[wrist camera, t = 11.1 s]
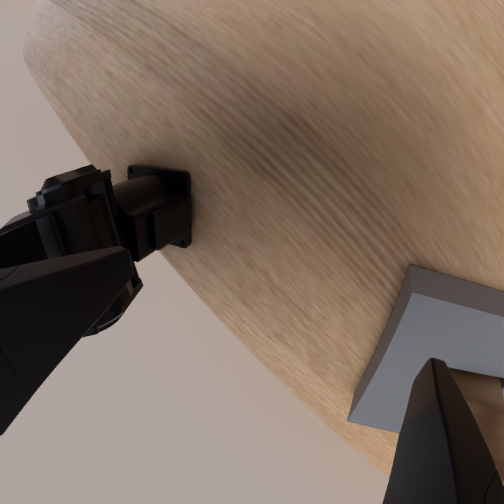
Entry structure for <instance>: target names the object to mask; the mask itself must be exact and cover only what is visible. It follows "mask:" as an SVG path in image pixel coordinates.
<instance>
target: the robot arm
mask: <svg viewBox="0 0 504 504" xmlns="http://www.w3.org/2000/svg"><path fill="white" fill-rule="evenodd" d="M132 169H133V170H132ZM127 172H128V180H127V181H124V182H121V183H119V184H116V185H113V186H112V182H111V178H110V177H112V176H111V172H110V170H106V171H103V172H101V169H100V170H97V169H96V168H95V167H94V166H93V165H92V164H91V165H89V166H85V167H82V168H79V169H76V170H72V171H69V172H66V173H63V174H60V175H56V176H53V177H51V178H48V179H46V180H45V182H44V184H43V186H42V189H41V190H40V191H38V192H36V196H35V197H32V198H30V199H28V200H27V204H28V207H29V210H28V211H26V212H24V213H22V214H19V215H17V216H15V217H13V218H12V219H11V220H10V221H9V222H7V223H6V224H5V225H4V226H3V227H2V228H1V229H0V435H2V434H3V433H4V432H5V431H6V430H7V428H8V427H9V426H10V424H11V423H12V422H13V420H14V419H15V417H16V416H17V415H18V414H19V412H20V411H21V410H22V409H23V407H24V406H25V405H26V403H27V402H28V401H29V400H30V398H31V397H32V396H33V394H34V393H35V392H36V390H37V389H38V388H39V387H40V386H41V385H42V383H43V382H44V381H45V379H46V378H47V377H48V376H49V375H50V374H51V372H52V371H53V370H54V369H55V368H56V366H57V365H58V364H59V363H60V362H61V361H62V360H63V358H64V357H65V356H66V355H67V354H68V353H69V351H70V350H71V349H72V348H73V347H74V346H75V345H76V343H77V342H78V341H79V340H80V339H81V338H82V337H86V336H91V335H95V334H98V333H99V332H100V331H103V330H105V329H107V328H109V327H110V326H112V325H113V324H115V323H116V322H117V321H118V320H119V319H120V318H121V316H122V315H123V313H124V312H125V311H126V309H127V308H128V306H129V305H130V303H131V302H132V301H133V299H134V298H135V296H136V295H137V294H138V292H139V291H140V290H141V288H142V287H143V283H142V281H141V279H140V278H139V276H138V273H137V270H136V267H135V263H134V261H136V262H139V261H141V260H142V259H143V258H145V257H147V256H148V255H149V254H151V253H153V252H154V251H156V250H161V249H162V248H164V247H165V246H167V245H168V244H171V245H175V246H178V247H181V248H187V247H188V246H190V244H191V201H190V175H189V173H188V172H187V171H184V170H177V169H169V168H161V167H153V166H144V165H135V164H134V165H130V166H129V167H128V170H127ZM182 175H183V176H184V179H183V178H182ZM184 241H185V242H186V243H185V242H184ZM383 504H504V485H503V482H502V480H501V477H500V474H499V472H498V470H497V469H496V465H495V462H494V460H493V457H492V455H491V452H490V450H489V448H488V445H487V443H486V441H485V439H484V436H483V434H482V432H481V430H480V428H479V426H478V423H477V421H476V419H475V417H474V415H473V413H472V411H471V409H470V407H469V405H468V403H467V401H466V399H465V397H464V395H463V393H462V392H461V390H460V388H459V386H458V384H457V382H456V380H455V379H454V377H453V375H452V373H451V371H450V370H449V368H448V366H447V364H446V363H445V361H443V360H440V359H437V358H433V357H432V358H429V359H428V360H427V362H426V363H425V365H424V366H423V367H422V369H421V370H420V372H419V373H418V375H417V376H416V378H415V379H414V382H413V384H412V388H411V393H410V397H409V401H408V405H407V409H406V412H405V416H404V420H403V423H402V427H401V430H400V434H399V438H398V443H397V447H396V452H395V457H394V461H393V466H392V470H391V474H390V478H389V483H388V486H387V490H386V493H385V497H384V500H383Z"/></svg>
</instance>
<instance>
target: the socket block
mask: <svg viewBox="0 0 504 504" xmlns="http://www.w3.org/2000/svg"><path fill="white" fill-rule="evenodd" d="M432 357H433V358H437V359H440V360H443V361H445V363H446V364H447V366H448V367H450V368H455V369H460V370H464V371H469V372H474V373H479V374H485V375H490V376H496V377H499V378H500V382H501V387H502V393H503V398H504V292H503V291H499V290H496V289H493V288H490V287H486V286H483V285H480V284H476V283H473V282H470V281H466V280H463V279H459V278H456V277H452V276H449V275H445V274H442V273H438V272H435V271H431V270H428V269H424V268H421V267H417V266H413V265H410V266H409V269H408V271H407V274H406V277H405V280H404V283H403V285H402V288H401V291H400V293H399V296H398V299H397V301H396V304H395V306H394V309H393V311H392V314H391V316H390V319H389V321H388V323H387V326H386V328H385V330H384V333H383V335H382V337H381V339H380V342H379V344H378V346H377V348H376V350H375V352H374V355H373V357H372V359H371V361H370V363H369V365H368V367H367V369H366V371H365V373H364V375H363V377H362V379H361V381H360V383H359V385H358V387H357V388H356V390H355V392H354V396H353V400H352V404H351V408H350V412H349V416H348V420H347V421H348V422H352V423H356V424H360V425H364V426H369V427H373V428H377V429H382V430H387V431H392V432H397V433H400V430H401V427H402V423H403V420H404V416H405V412H406V409H407V405H408V401H409V397H410V393H411V388H412V384H413V382H414V379H415V378H416V376H417V375H418V373H419V372H420V370H421V369H422V367H423V366H424V365H425V363H426V362H427V360H428V359H429V358H432Z"/></svg>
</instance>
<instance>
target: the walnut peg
mask: <svg viewBox="0 0 504 504" xmlns="http://www.w3.org/2000/svg"><path fill="white" fill-rule="evenodd" d="M448 368H449V370H450V371H451V373H452V375H453V377H454V379H455V380H456V382H457V384H458V386H459V388H460V390H461V392H462V393H463V395H464V397H465V399H466V401H467V403H468V405H469V407H470V409H471V411H472V413H473V415H474V417H475V419H476V421H477V423H478V426H479V428H480V430H481V432H482V434H483V436H484V439H485V441H486V443H487V445H488V448H489V450H490V452H491V455H492V457H493V460H494V462H495V465H496V469H497V470H498V472H499V474H500V477H501V480H502V482H503V485H504V398H503V393H502V387H501V382H500V378H499V377H496V376H490V375H485V374H479V373H474V372H469V371H464V370H460V369H455V368H450V367H448Z"/></svg>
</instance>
